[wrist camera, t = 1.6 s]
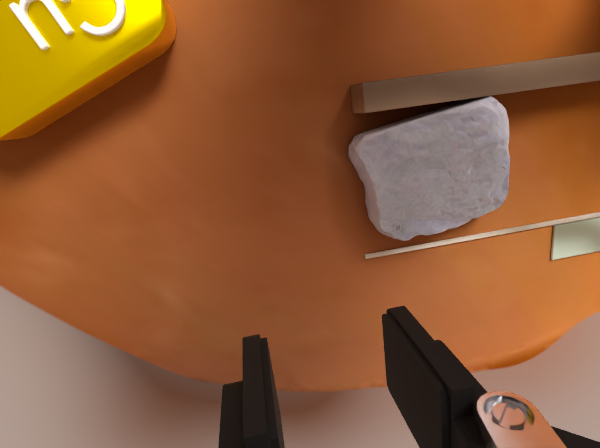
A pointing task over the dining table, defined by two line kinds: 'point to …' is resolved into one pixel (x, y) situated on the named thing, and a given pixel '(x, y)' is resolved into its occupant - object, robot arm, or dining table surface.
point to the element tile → (72, 54)
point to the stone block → (434, 168)
